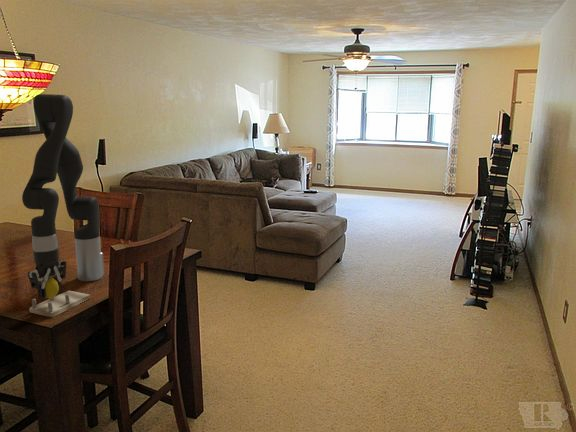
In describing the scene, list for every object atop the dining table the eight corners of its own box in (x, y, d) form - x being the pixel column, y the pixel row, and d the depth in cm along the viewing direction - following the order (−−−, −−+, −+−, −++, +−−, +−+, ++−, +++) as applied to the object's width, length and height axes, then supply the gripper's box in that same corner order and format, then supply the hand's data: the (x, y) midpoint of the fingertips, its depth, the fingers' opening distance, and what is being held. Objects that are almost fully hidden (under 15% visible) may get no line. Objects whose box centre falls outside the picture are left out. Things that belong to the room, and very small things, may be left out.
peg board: (69, 294, 176) (68, 282, 174) (90, 298, 172) (89, 286, 171) (29, 312, 160) (28, 299, 159) (52, 317, 157) (50, 304, 156)
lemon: (38, 300, 161) (35, 277, 159) (53, 294, 165) (51, 273, 163) (47, 303, 158) (45, 281, 156) (63, 298, 162) (61, 276, 160)
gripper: (54, 240, 165) (58, 286, 169) (18, 251, 152) (23, 301, 156) (71, 243, 163) (75, 289, 166) (35, 254, 150) (41, 304, 153)
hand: (50, 295), depth 161 cm, fingers closed on lemon, 5 cm apart
